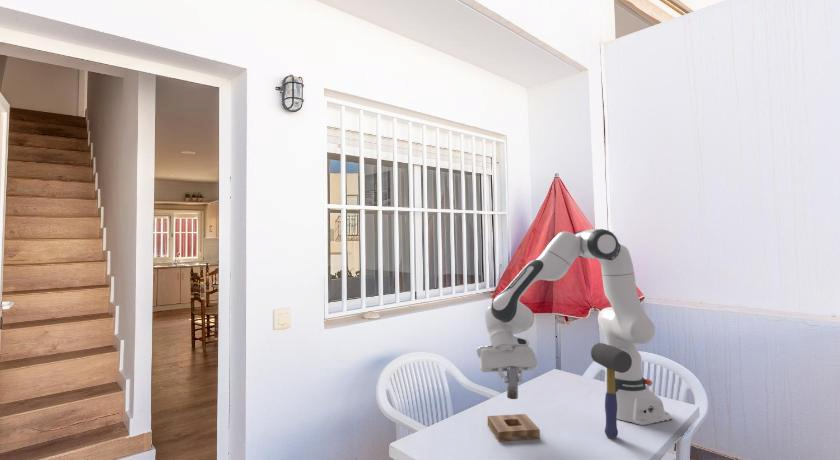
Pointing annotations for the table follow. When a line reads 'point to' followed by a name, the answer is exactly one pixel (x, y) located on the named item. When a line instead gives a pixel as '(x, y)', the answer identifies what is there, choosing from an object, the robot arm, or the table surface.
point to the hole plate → (513, 427)
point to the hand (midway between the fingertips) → (513, 381)
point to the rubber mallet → (611, 379)
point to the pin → (512, 382)
